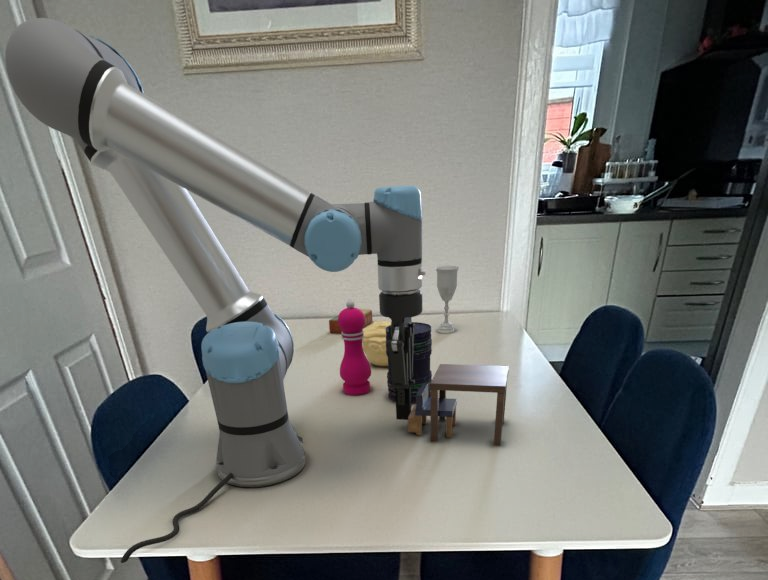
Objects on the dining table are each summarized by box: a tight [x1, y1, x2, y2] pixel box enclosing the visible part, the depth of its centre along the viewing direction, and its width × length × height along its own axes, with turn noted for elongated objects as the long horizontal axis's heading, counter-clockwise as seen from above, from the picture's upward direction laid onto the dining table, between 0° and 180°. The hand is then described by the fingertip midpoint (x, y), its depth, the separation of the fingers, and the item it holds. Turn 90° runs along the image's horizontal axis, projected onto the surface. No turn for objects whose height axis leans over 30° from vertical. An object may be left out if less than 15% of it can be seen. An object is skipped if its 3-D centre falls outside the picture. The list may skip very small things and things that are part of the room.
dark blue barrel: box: [386, 321, 433, 405], centre depth 117 cm, size 10×10×15 cm
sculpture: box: [362, 320, 392, 367], centre depth 139 cm, size 12×12×11 cm
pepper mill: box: [337, 299, 372, 396], centre depth 120 cm, size 7×7×20 cm
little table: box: [430, 363, 510, 447], centre depth 101 cm, size 11×13×11 cm
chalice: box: [435, 265, 460, 334], centre depth 161 cm, size 7×7×18 cm
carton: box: [328, 308, 374, 335], centre depth 174 cm, size 8×16×4 cm, turn 158°
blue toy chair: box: [407, 383, 458, 438], centre depth 103 cm, size 8×6×8 cm
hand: (403, 418), depth 105 cm, fingers closed
